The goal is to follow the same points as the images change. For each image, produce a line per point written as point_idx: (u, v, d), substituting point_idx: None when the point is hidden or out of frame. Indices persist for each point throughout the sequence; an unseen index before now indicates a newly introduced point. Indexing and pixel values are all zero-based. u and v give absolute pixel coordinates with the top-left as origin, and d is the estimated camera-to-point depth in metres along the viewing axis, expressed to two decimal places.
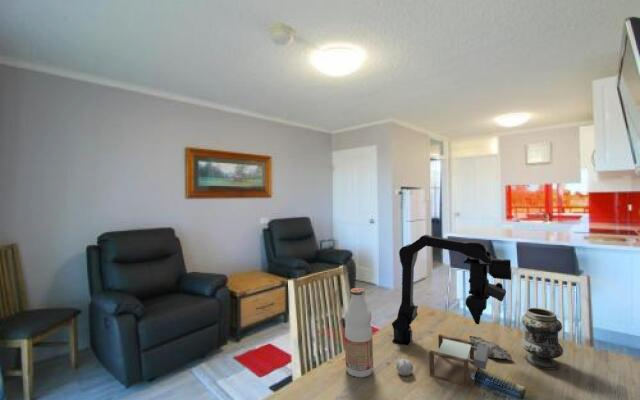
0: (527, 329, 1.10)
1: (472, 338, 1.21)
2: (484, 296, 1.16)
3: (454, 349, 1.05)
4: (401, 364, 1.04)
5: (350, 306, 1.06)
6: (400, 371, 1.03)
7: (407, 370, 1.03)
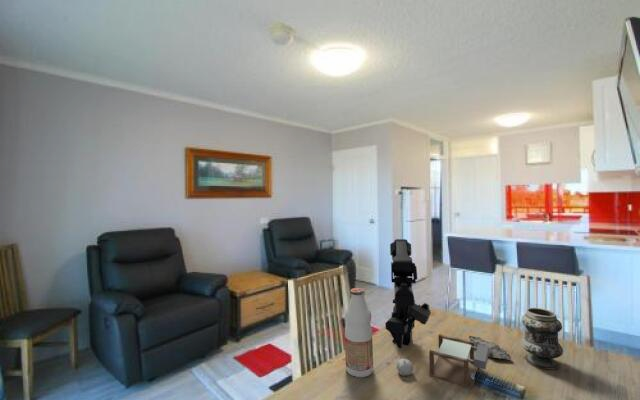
0: (527, 329, 1.10)
1: (471, 338, 1.21)
2: None
3: (454, 349, 1.05)
4: (401, 364, 1.04)
5: (350, 306, 1.06)
6: (400, 371, 1.03)
7: (407, 370, 1.03)
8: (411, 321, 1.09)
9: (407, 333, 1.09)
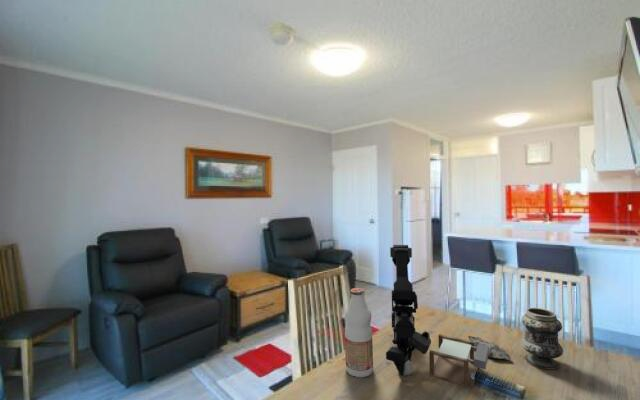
0: (527, 329, 1.10)
1: (471, 338, 1.21)
2: None
3: (454, 349, 1.05)
4: None
5: (350, 306, 1.06)
6: None
7: (407, 370, 1.03)
8: (410, 350, 1.07)
9: None
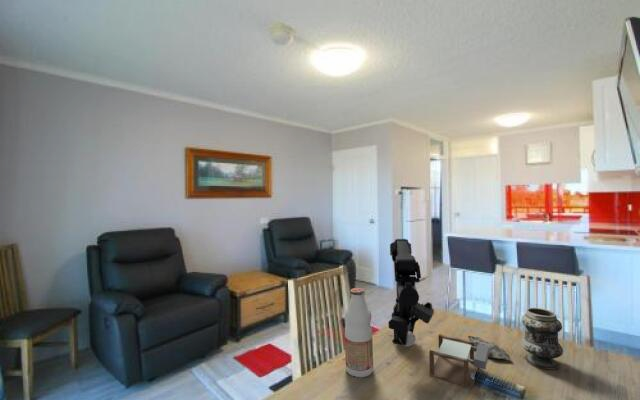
0: (527, 329, 1.10)
1: (471, 338, 1.21)
2: (414, 317, 1.08)
3: (454, 349, 1.05)
4: None
5: (350, 306, 1.06)
6: None
7: (409, 340, 1.03)
8: (413, 321, 1.07)
9: None
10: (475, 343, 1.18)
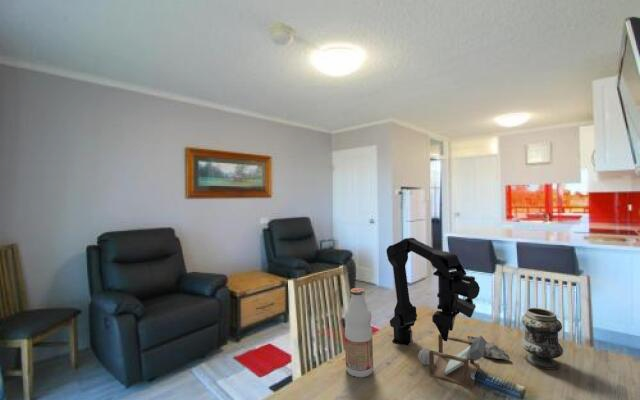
0: (527, 329, 1.10)
1: (470, 338, 1.21)
2: None
3: None
4: (428, 364, 1.08)
5: (350, 306, 1.06)
6: None
7: (422, 360, 1.08)
8: (453, 315, 1.11)
9: (449, 327, 1.11)
10: None
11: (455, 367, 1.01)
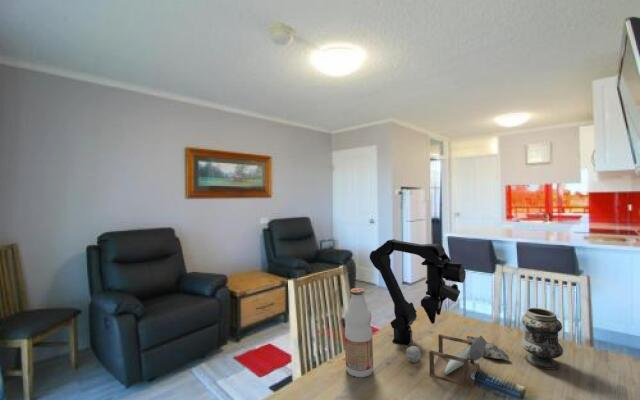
0: (527, 329, 1.10)
1: (470, 338, 1.21)
2: (442, 297, 1.21)
3: None
4: (415, 353, 1.10)
5: (350, 306, 1.06)
6: (409, 351, 1.11)
7: (410, 358, 1.11)
8: (441, 301, 1.21)
9: (437, 311, 1.21)
10: None
11: (455, 367, 1.01)
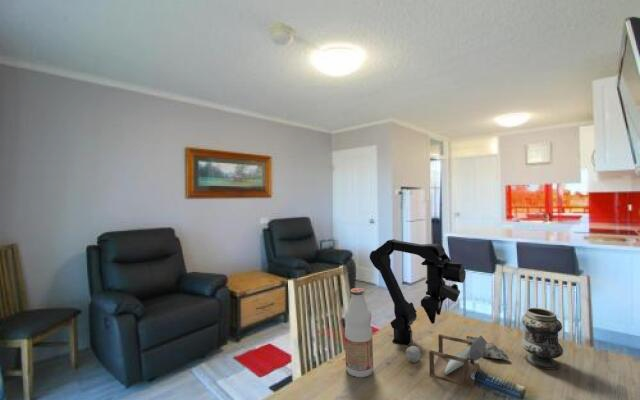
0: (527, 329, 1.10)
1: (469, 338, 1.21)
2: (442, 297, 1.21)
3: None
4: (414, 353, 1.10)
5: (350, 306, 1.06)
6: (408, 351, 1.11)
7: (410, 358, 1.11)
8: (441, 301, 1.21)
9: (437, 311, 1.21)
10: None
11: (455, 367, 1.01)
